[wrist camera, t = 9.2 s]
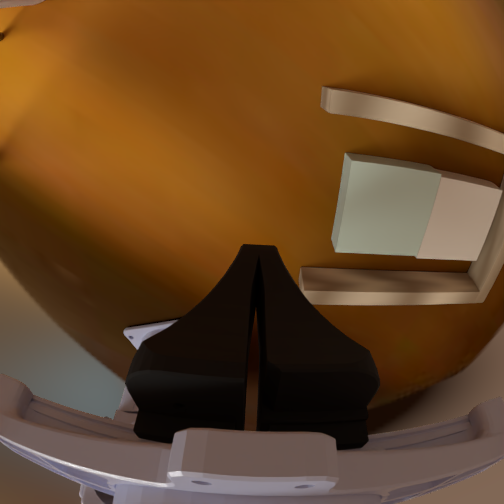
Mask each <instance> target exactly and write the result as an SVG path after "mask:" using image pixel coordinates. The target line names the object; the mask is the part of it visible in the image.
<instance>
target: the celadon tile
mask: <svg viewBox="0 0 504 504" xmlns="http://www.w3.org/2000/svg"><path fill="white" fill-rule="evenodd" d="M441 175H442V174H441V173H439V172H438V171H437V170H436V169H434V168H433V167H432V166H430V165H426V164H421V163H415V162H409V161H403V160H397V159H391V158H384V157H377V156H370V155H362V154H354V153H345V156H344V164H343V171H342V178H341V185H340V191H339V197H338V204H337V210H336V215H335V221H334V227H333V232H332V238H331V240H332V243H333V246H334V249H335V252H343V253H365V254H386V255H407V256H417V254H418V251H419V248H420V245H421V243H422V240H423V237H424V234H425V231H426V228H427V224H428V221H429V218H430V215H431V211H432V208H433V205H434V201H435V197H436V194H437V190H438V186H439V182H440V179H441Z"/></svg>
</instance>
